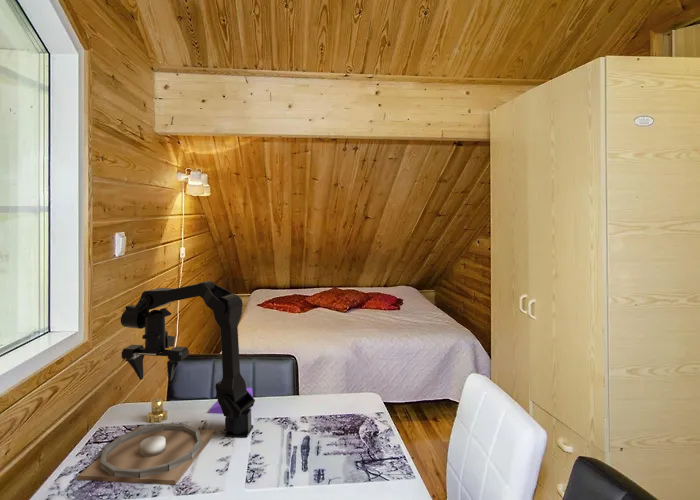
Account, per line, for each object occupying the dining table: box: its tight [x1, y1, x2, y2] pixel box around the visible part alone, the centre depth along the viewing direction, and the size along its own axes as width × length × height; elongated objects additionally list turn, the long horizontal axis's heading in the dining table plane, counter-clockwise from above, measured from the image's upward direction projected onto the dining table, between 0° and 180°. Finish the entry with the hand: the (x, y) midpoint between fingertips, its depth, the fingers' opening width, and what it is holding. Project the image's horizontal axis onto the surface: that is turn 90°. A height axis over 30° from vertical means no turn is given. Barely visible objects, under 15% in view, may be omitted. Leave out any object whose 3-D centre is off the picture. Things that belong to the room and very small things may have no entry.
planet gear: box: [146, 397, 168, 424], centre depth 134 cm, size 6×6×6 cm
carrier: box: [77, 423, 217, 485], centre depth 114 cm, size 24×24×4 cm
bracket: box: [209, 387, 254, 415], centre depth 141 cm, size 12×7×7 cm, turn 85°
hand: (155, 380), depth 133 cm, fingers open, 9 cm apart
